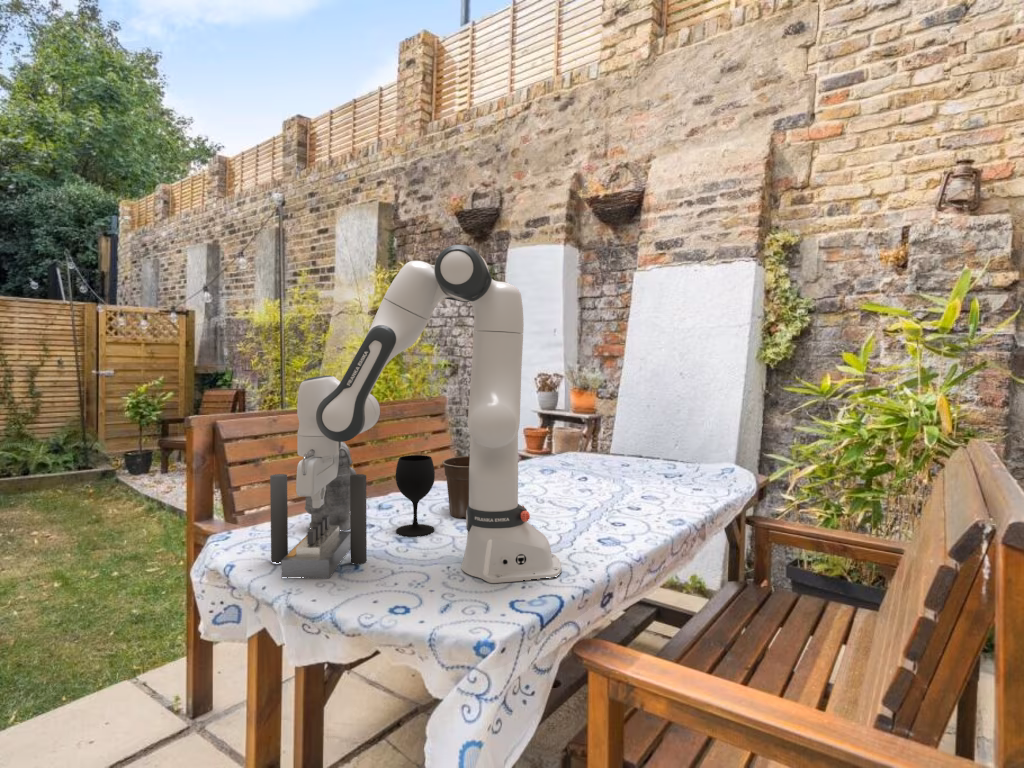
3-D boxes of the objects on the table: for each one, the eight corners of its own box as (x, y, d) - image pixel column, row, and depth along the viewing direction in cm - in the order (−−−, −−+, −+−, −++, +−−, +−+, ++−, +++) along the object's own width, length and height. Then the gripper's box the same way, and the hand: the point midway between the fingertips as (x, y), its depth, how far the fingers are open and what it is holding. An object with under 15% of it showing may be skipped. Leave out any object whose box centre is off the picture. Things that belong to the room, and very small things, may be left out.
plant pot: (462, 525, 164) (462, 468, 163) (432, 512, 176) (432, 459, 175) (507, 515, 174) (507, 461, 173) (475, 504, 186) (475, 454, 185)
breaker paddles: (329, 526, 140) (329, 515, 140) (313, 544, 127) (312, 531, 127) (324, 526, 140) (324, 515, 140) (307, 544, 127) (307, 531, 127)
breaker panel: (351, 547, 144) (351, 523, 144) (329, 578, 124) (328, 550, 124) (310, 547, 144) (310, 523, 143) (281, 578, 124) (281, 550, 123)
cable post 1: (290, 559, 135) (289, 474, 134) (284, 564, 132) (283, 477, 131) (274, 559, 135) (273, 474, 134) (268, 564, 132) (267, 477, 131)
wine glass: (440, 527, 161) (440, 455, 160) (425, 538, 151) (425, 462, 150) (406, 524, 164) (406, 453, 163) (388, 535, 154) (388, 460, 153)
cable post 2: (368, 558, 136) (367, 474, 135) (364, 564, 132) (364, 477, 131) (352, 558, 136) (352, 474, 135) (348, 564, 132) (348, 477, 131)
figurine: (299, 530, 157) (298, 438, 156) (345, 519, 168) (344, 433, 167) (318, 537, 151) (317, 442, 150) (364, 525, 162) (364, 436, 160)
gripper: (318, 454, 122) (318, 519, 123) (343, 440, 143) (343, 495, 143) (288, 454, 122) (288, 519, 123) (317, 439, 142) (317, 495, 143)
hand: (318, 506), depth 133 cm, fingers closed
